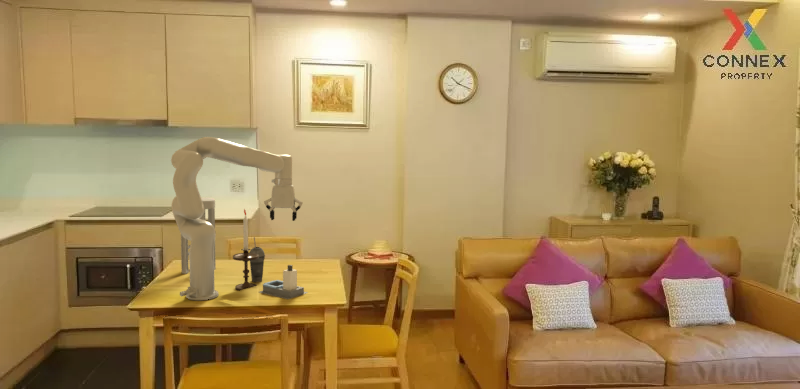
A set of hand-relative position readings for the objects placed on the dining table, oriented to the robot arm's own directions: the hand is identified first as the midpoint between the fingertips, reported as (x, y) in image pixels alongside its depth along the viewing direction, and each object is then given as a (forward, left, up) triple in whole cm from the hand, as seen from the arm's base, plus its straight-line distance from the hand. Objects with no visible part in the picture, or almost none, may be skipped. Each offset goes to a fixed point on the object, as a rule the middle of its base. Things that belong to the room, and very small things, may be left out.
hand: (283, 220), depth 258 cm
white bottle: (-16, -20, -27) cm, 37 cm away
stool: (-12, +43, -28) cm, 53 cm away
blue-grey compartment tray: (-16, -16, -28) cm, 36 cm away
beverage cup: (-7, +9, -28) cm, 31 cm away
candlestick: (-18, +4, -28) cm, 34 cm away
